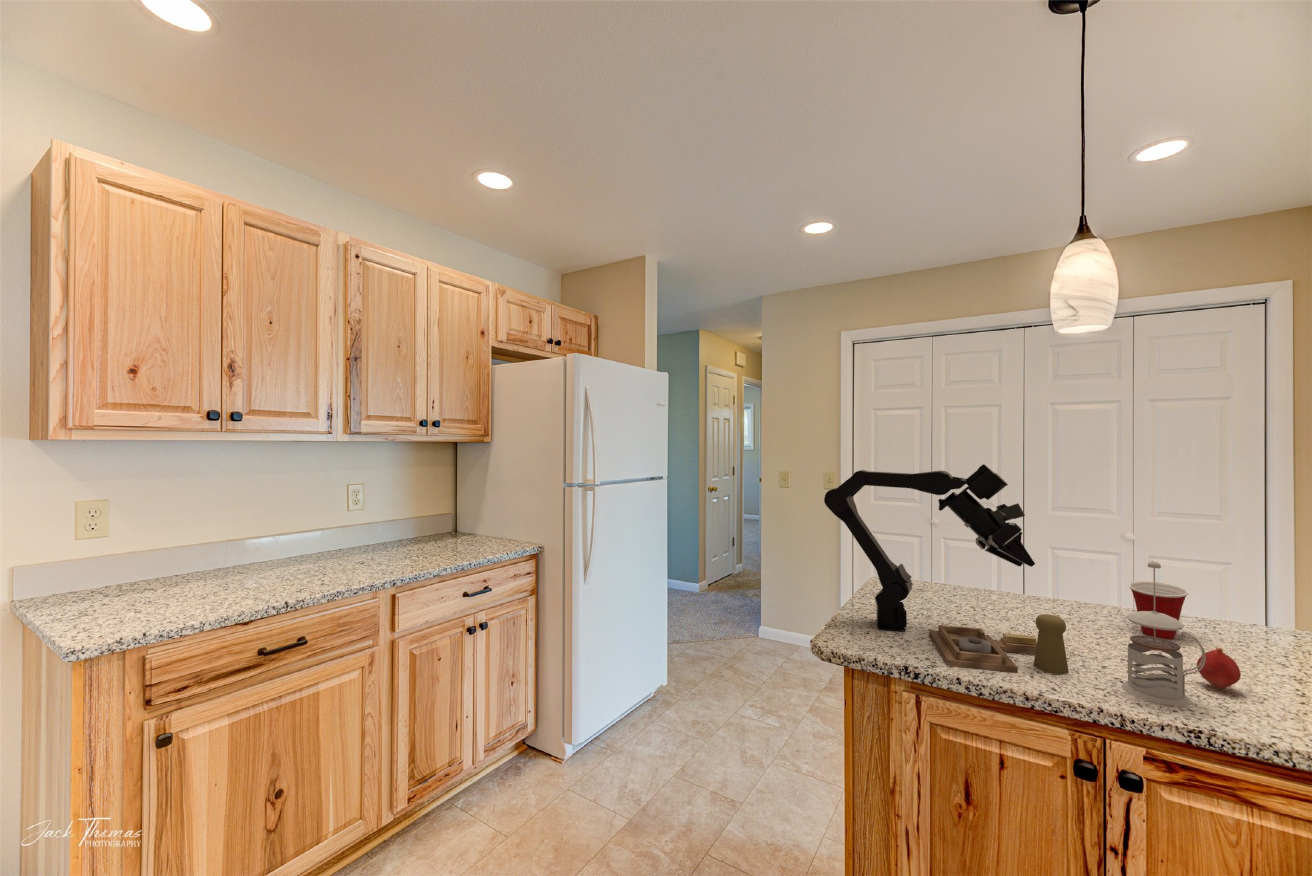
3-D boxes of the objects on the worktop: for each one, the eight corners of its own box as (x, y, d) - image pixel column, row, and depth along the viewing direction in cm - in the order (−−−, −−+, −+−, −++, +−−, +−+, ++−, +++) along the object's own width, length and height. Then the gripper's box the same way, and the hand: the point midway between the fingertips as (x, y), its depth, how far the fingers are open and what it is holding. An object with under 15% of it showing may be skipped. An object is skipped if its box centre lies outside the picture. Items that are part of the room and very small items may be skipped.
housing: (947, 665, 115) (947, 644, 115) (929, 634, 133) (929, 616, 133) (1068, 677, 109) (1068, 656, 109) (1032, 643, 127) (1032, 625, 127)
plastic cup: (1125, 635, 132) (1124, 586, 132) (1132, 624, 140) (1131, 578, 140) (1186, 647, 124) (1186, 595, 124) (1191, 636, 131) (1190, 587, 132)
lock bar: (1006, 645, 123) (1006, 636, 123) (1002, 641, 125) (1002, 633, 125) (1036, 647, 121) (1036, 639, 121) (1032, 644, 123) (1032, 635, 123)
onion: (1188, 682, 107) (1188, 641, 107) (1215, 681, 107) (1214, 640, 107) (1221, 696, 101) (1221, 653, 101) (1249, 694, 101) (1249, 652, 101)
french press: (1120, 677, 109) (1119, 553, 109) (1201, 694, 102) (1200, 561, 102) (1121, 694, 101) (1120, 562, 102) (1209, 714, 94) (1208, 571, 94)
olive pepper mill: (1056, 662, 116) (1056, 611, 116) (1075, 674, 110) (1075, 620, 110) (1027, 661, 117) (1026, 610, 117) (1044, 673, 111) (1044, 620, 111)
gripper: (1009, 485, 119) (1071, 541, 114) (990, 495, 137) (1043, 544, 131) (969, 518, 121) (1028, 574, 115) (954, 523, 138) (1005, 573, 132)
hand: (1027, 565), depth 123 cm, fingers open, 9 cm apart
